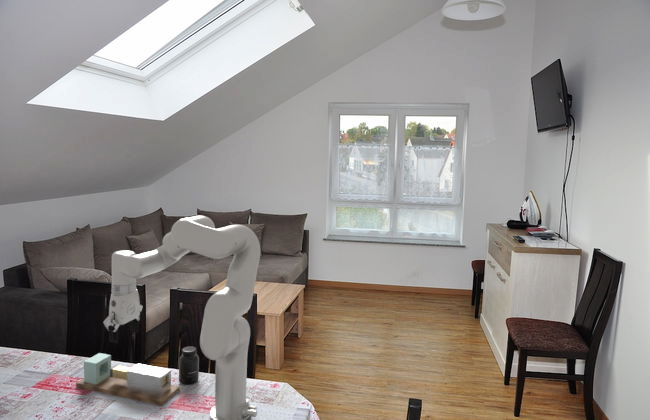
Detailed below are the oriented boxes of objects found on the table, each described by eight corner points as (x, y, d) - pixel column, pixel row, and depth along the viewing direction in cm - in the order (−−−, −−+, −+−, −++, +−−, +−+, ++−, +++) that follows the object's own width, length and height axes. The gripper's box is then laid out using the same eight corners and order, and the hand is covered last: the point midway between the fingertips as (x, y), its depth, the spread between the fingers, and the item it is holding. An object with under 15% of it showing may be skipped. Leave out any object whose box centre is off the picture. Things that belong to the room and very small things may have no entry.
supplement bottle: (192, 386, 156) (193, 354, 155) (175, 384, 158) (175, 351, 156) (202, 377, 163) (202, 346, 162) (185, 375, 164) (185, 343, 163)
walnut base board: (179, 390, 153) (179, 386, 153) (161, 405, 144) (161, 401, 144) (98, 374, 163) (98, 370, 162) (76, 387, 153) (76, 383, 153)
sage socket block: (111, 375, 159) (111, 355, 158) (96, 384, 152) (95, 363, 152) (99, 372, 161) (99, 352, 160) (84, 382, 154) (83, 361, 153)
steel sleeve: (170, 388, 152) (170, 369, 151) (160, 396, 146) (160, 377, 146) (138, 382, 155) (138, 363, 154) (127, 389, 150) (126, 370, 149)
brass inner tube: (166, 383, 150) (166, 374, 150) (160, 387, 148) (160, 378, 147) (116, 373, 156) (116, 364, 156) (110, 377, 153) (109, 368, 153)
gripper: (114, 296, 140) (114, 348, 142) (150, 282, 157) (150, 329, 159) (95, 293, 142) (95, 344, 144) (132, 280, 159) (132, 326, 161)
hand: (124, 336), depth 152 cm, fingers open, 9 cm apart
